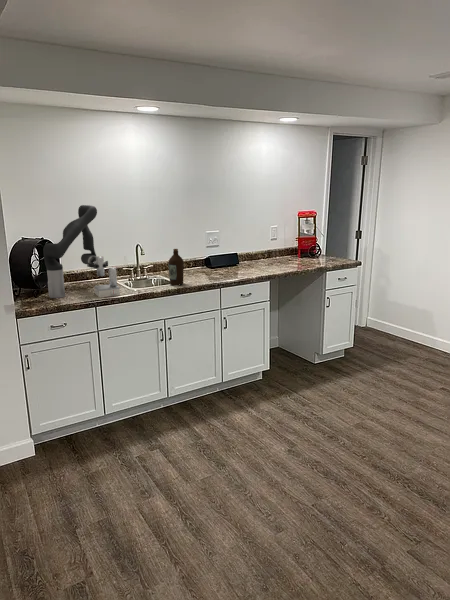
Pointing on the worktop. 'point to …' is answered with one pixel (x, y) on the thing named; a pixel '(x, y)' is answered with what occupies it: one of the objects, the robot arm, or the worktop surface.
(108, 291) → the scale
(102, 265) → the spacer
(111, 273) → the spacer on scale
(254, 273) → the worktop surface
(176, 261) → the olive oil
